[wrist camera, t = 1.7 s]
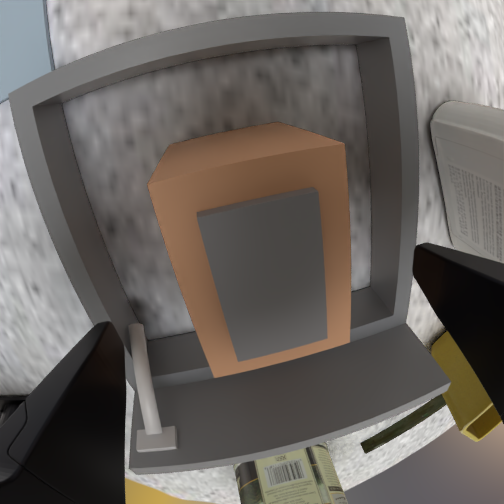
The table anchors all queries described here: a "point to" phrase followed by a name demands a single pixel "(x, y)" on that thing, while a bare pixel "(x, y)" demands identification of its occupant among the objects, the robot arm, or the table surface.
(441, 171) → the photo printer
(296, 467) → the coffee can
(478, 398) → the flower pot
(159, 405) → the grey open frame
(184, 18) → the table surface
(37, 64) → the mat
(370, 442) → the rod
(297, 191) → the block
